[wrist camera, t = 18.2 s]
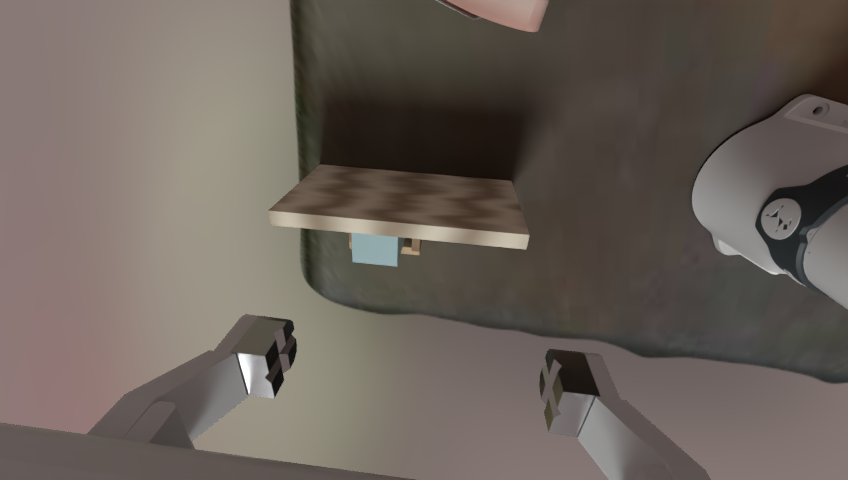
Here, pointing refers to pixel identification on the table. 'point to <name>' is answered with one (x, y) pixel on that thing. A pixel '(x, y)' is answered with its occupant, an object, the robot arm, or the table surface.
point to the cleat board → (405, 207)
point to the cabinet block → (376, 249)
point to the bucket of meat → (503, 11)
